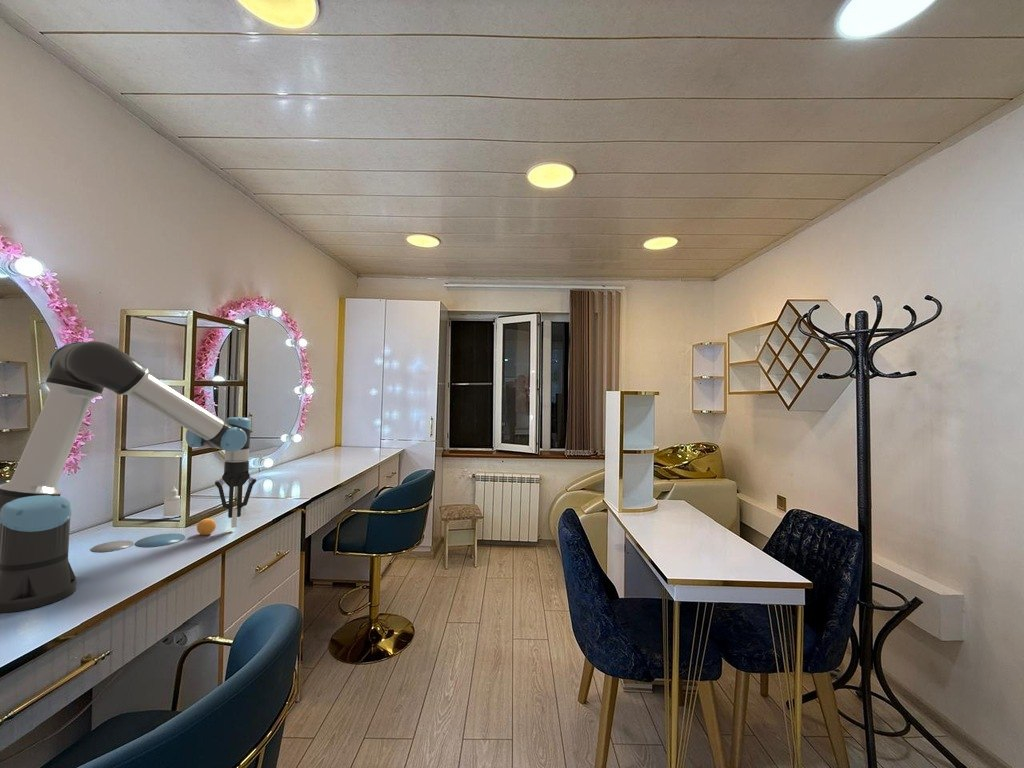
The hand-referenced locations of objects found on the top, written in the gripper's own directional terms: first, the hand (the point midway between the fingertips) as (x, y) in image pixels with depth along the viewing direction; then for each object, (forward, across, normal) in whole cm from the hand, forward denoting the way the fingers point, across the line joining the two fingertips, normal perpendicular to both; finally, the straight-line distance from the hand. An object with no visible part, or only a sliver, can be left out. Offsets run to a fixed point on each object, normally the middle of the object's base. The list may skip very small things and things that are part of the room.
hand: (233, 526), depth 160 cm
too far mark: (+2, +33, 0) cm, 33 cm away
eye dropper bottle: (+2, +19, -29) cm, 35 cm away
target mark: (+2, +21, 0) cm, 21 cm away
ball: (-1, +8, 0) cm, 8 cm away
